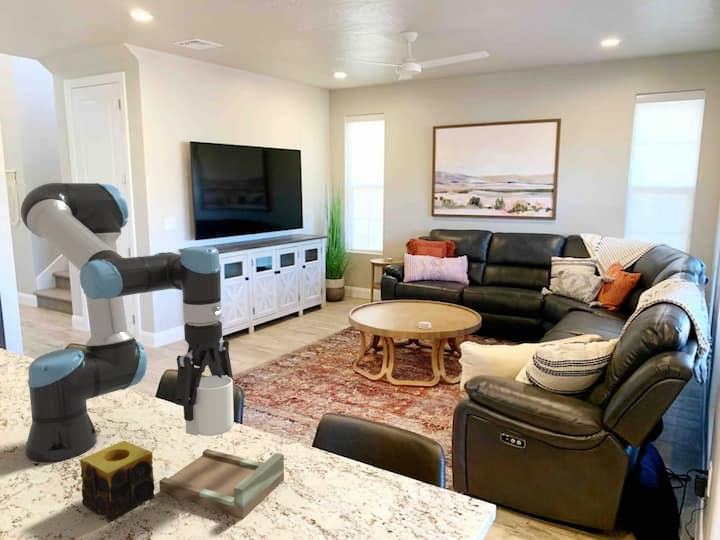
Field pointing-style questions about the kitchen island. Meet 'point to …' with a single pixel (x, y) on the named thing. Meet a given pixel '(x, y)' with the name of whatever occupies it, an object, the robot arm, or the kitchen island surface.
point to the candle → (117, 479)
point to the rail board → (225, 482)
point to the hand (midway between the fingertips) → (207, 424)
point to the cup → (215, 405)
